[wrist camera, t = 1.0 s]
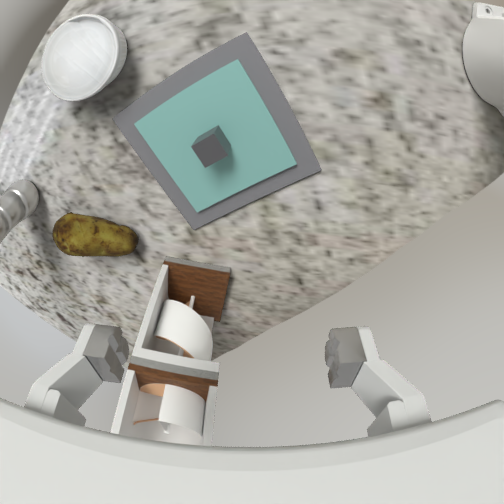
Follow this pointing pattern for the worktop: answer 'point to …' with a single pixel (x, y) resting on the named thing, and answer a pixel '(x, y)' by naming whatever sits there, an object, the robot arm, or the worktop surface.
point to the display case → (175, 358)
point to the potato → (92, 236)
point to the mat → (274, 102)
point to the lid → (216, 137)
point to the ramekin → (83, 57)
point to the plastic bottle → (17, 205)
